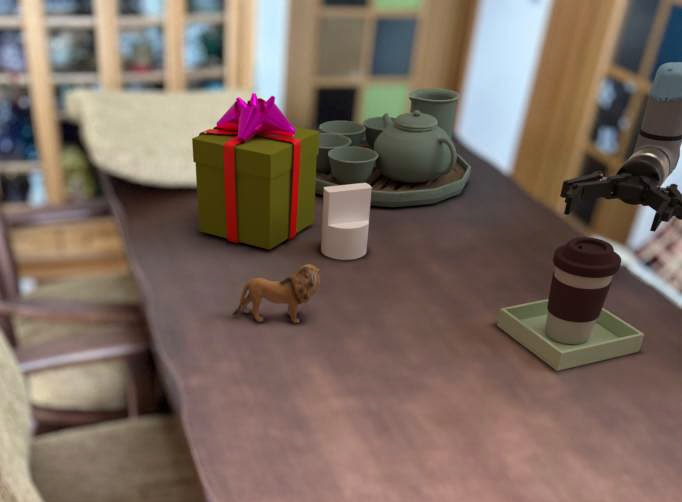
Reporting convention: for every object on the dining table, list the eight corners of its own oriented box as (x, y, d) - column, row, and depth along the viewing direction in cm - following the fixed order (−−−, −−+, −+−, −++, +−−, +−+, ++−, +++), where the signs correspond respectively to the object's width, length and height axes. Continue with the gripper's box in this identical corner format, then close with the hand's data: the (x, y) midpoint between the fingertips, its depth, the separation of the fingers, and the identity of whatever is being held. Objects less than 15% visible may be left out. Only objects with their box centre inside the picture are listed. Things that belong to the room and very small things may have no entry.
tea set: (336, 144, 213) (340, 73, 202) (487, 168, 200) (500, 93, 189) (267, 191, 186) (268, 111, 175) (437, 222, 173) (449, 138, 162)
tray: (638, 351, 132) (644, 334, 130) (556, 371, 128) (561, 353, 125) (574, 309, 143) (579, 292, 141) (496, 325, 139) (500, 308, 137)
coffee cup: (610, 339, 134) (638, 248, 124) (570, 355, 130) (595, 263, 120) (563, 315, 140) (586, 228, 130) (523, 330, 136) (543, 241, 126)
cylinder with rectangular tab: (356, 239, 166) (360, 177, 158) (373, 256, 159) (379, 193, 152) (314, 244, 164) (316, 182, 156) (330, 262, 157) (334, 198, 149)
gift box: (230, 206, 179) (226, 77, 162) (320, 220, 173) (326, 88, 157) (188, 240, 165) (180, 103, 148) (286, 256, 159) (288, 115, 142)
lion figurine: (316, 309, 142) (318, 258, 136) (319, 323, 139) (322, 272, 133) (231, 311, 142) (230, 260, 136) (232, 325, 138) (231, 273, 132)
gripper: (708, 212, 142) (685, 253, 128) (565, 186, 151) (529, 222, 137) (724, 166, 137) (702, 204, 123) (575, 142, 146) (538, 175, 133)
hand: (610, 214), depth 130 cm, fingers open, 13 cm apart
